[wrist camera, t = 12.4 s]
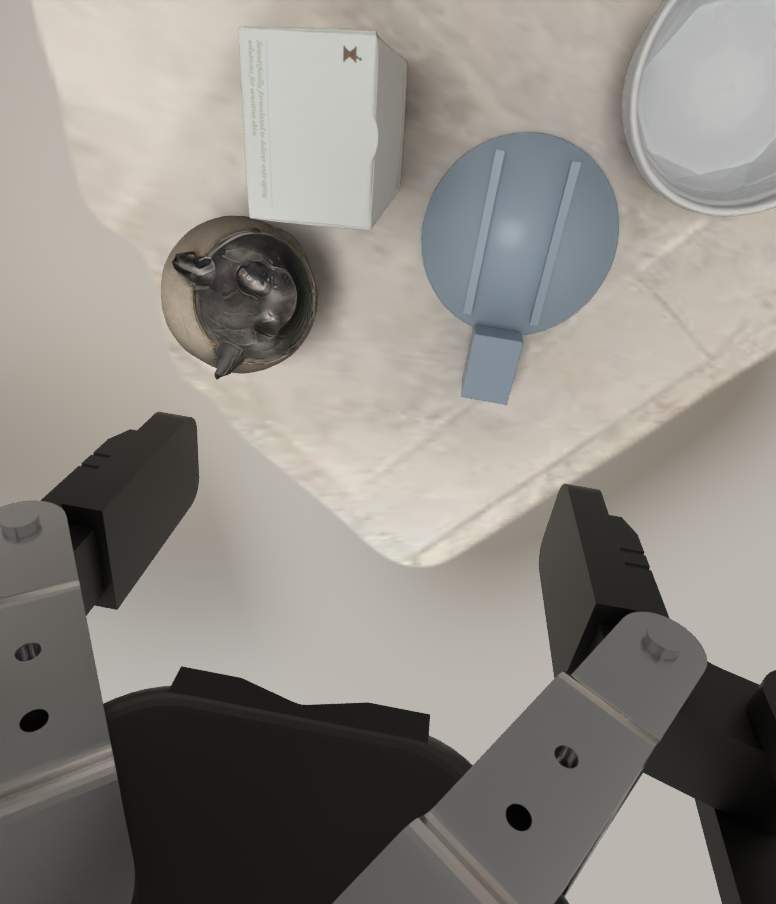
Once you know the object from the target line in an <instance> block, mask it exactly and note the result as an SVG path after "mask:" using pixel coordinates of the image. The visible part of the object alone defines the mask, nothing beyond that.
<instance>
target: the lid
mask: <svg viewBox="0 0 776 904" xmlns="http://www.w3.org/2000/svg"><path fill="white" fill-rule="evenodd" d="M618 234H619V216H618V209H617V203H616V200H615V197H614V193H613V190H612V188H611V186H610V184H609V182H608V179H607V178H606V176H605V175H604V173H603V171H602V170H601V168H600V167H599V166H598V165H597V164H596V163H595V161H594V160H593V159H592V158H591V157H590V156H589V155H587V154H586V153H585V152H584V151H583V150H581V149H580V148H578V147H577V146H575V145H573V144H572V143H570V142H568V141H565V140H563V139H560V138H558V137H555V136H550V135H546V134H540V133H514V134H509V135H505V136H500V137H498V138H495V139H492V140H489V141H487V142H485V143H483V144H481V145H479V146H477V147H475V148H474V149H473V150H471V151H470V152H468V153H467V154H465V155H464V156H463V157H462V158H461V159H460V160H458V161H457V162H456V163H455V164H454V165H453V166H452V167H451V169H450V170H449V171H448V172H447V173H446V174H445V176H444V177H443V179H442V180H441V182H440V183H439V185H438V186H437V188H436V190H435V192H434V194H433V196H432V198H431V200H430V202H429V205H428V208H427V211H426V214H425V218H424V223H423V229H422V256H423V262H424V267H425V270H426V274H427V277H428V279H429V282H430V284H431V286H432V288H433V290H434V292H435V293H436V295H437V296H438V298H439V299H440V301H441V302H442V303H443V304H444V306H445V307H446V308H447V309H448V310H449V311H450V312H451V313H452V314H454V315H455V316H456V317H457V318H459V319H460V320H462V321H463V322H464V323H466V324H468V325H470V326H472V327H473V331H472V336H471V341H470V346H469V350H468V355H467V360H466V364H465V369H464V374H463V379H462V395H461V397H464V398H470V399H476V400H481V401H487V402H493V403H498V404H504V405H507V403H508V399H509V395H510V391H511V387H512V383H513V379H514V375H515V372H516V368H517V364H518V360H519V356H520V352H521V348H522V344H523V340H522V336H521V335H526V334H533V333H536V332H540V331H544V330H546V329H549V328H551V327H554V326H556V325H558V324H559V323H561V322H563V321H565V320H567V319H568V318H569V317H571V316H572V315H574V314H575V313H577V312H578V311H579V310H580V309H581V308H582V307H583V306H584V305H585V304H587V302H588V301H589V300H590V299H591V298H592V297H593V296H594V294H595V293H596V292H597V290H598V289H599V287H600V286H601V285H602V283H603V281H604V279H605V278H606V276H607V274H608V272H609V270H610V267H611V264H612V262H613V259H614V256H615V252H616V248H617V243H618Z"/></svg>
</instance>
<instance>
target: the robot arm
mask: <svg viewBox="0 0 776 904" xmlns="http://www.w3.org/2000/svg"><path fill="white" fill-rule="evenodd" d="M197 444H198V443H197V426H196V422H195V420H194V419H193V418H192V417H186V416H181V415H175V414H168V413H163V412H157V413H155V414H154V415H153V416H152V417H151V418H150V419H149V420H148V421H147V422H146V423H145V424H144V425H143V426H142V427H141V428H139V429H138V430H131V429H130V430H128V431H126V432H123V433H121V434H119V435H117V436H114V437H112V438H110V439H108V440H107V441H106V442H105V443H104V444H102V445H101V446H100V447H99V448H98V449H97V450H96V451H95V452H94V454H93V455H90V456H89V457H88V458H87V459H86V460H85V461H84V462H83V463H82V465H81V466H78V467H77V468H76V469H75V470H74V471H73V472H72V473H70V474H69V475H68V476H67V477H66V478H65V479H64V480H63V481H62V482H60V483H59V484H58V485H57V486H56V487H55V488H54V489H53V490H52V491H51V492H49V494H47V495H46V496H45V497H44V498H43V499H42V500H41V501H23V502H17V503H12V504H9V505H5V506H2V507H0V904H569V903H568V901H567V900H566V898H565V896H566V894H567V893H568V891H569V889H570V888H571V886H572V885H573V883H574V881H575V880H576V878H577V877H578V875H579V873H580V872H581V870H582V869H583V867H584V865H585V864H586V862H587V860H588V859H589V857H590V856H591V854H592V852H593V851H594V849H595V848H596V846H597V844H598V843H599V841H600V840H601V838H602V837H603V835H604V833H605V832H606V830H607V829H608V827H609V826H610V824H611V822H612V821H613V819H614V818H615V816H616V815H617V813H618V811H619V810H620V808H621V806H622V805H623V804H624V802H625V800H626V799H627V797H628V796H629V794H630V792H631V791H632V789H633V788H634V786H635V785H636V783H637V782H638V780H639V778H640V777H641V775H642V774H643V773H645V774H647V775H649V776H651V777H653V778H655V779H657V780H659V781H661V782H663V783H665V784H667V785H669V786H671V787H673V788H675V789H677V790H679V791H681V792H683V793H685V794H687V795H689V796H691V797H693V798H695V801H696V805H697V809H698V813H699V817H700V820H701V825H702V828H703V832H704V836H705V839H706V844H707V847H708V851H709V855H710V859H711V863H712V867H713V870H714V874H715V878H716V882H717V886H718V890H719V894H720V897H721V901H722V904H776V670H775V671H772V672H770V673H769V674H768V675H766V677H765V678H764V680H763V681H762V683H761V684H760V685H759V684H756V683H754V682H752V681H749V680H747V679H745V678H742V677H740V676H737V675H735V674H733V673H730V672H728V671H726V670H723V669H721V668H719V667H717V666H715V665H713V664H711V663H709V662H708V661H707V657H706V654H705V651H704V649H703V647H702V645H701V644H700V642H699V641H698V640H697V639H696V638H695V636H693V635H692V633H690V632H689V631H688V630H687V629H686V628H684V627H683V626H681V625H680V624H678V623H677V622H675V621H673V620H671V619H670V618H669V616H668V613H667V611H666V608H665V605H664V603H663V600H662V597H661V595H660V592H659V590H658V587H657V584H656V582H655V579H654V577H653V574H652V571H651V570H649V567H650V566H649V564H648V561H647V558H646V556H644V551H643V548H642V545H641V543H640V540H639V538H638V535H637V534H636V532H635V531H634V530H633V529H632V528H631V527H630V526H629V525H628V524H627V523H626V522H625V521H624V520H623V518H622V517H617V516H611V515H609V514H608V511H607V508H606V505H605V502H604V499H603V496H602V493H601V491H600V490H598V489H592V488H586V487H581V486H574V485H569V484H563V485H562V486H561V488H560V490H559V492H558V495H557V498H556V501H555V504H554V507H553V510H552V513H551V516H550V519H549V522H548V525H547V528H546V531H545V534H544V537H543V540H542V544H541V548H540V555H539V572H540V579H541V586H542V593H543V600H544V607H545V615H546V622H547V629H548V635H549V643H550V650H551V657H552V663H553V671H554V678H555V679H554V680H553V681H552V682H551V683H550V684H549V685H548V686H547V687H546V688H545V689H544V690H543V691H542V693H541V694H540V695H539V696H538V697H537V698H536V699H535V700H534V701H533V702H532V703H531V704H530V705H529V706H528V707H527V709H526V710H525V711H524V712H523V713H522V714H521V715H520V716H519V717H518V718H517V719H516V720H515V721H514V722H513V723H512V724H511V726H510V727H509V728H508V729H507V730H506V731H505V732H504V733H503V734H502V735H501V737H499V738H498V739H497V740H496V742H495V743H494V744H493V745H492V746H491V747H490V748H489V749H488V750H487V751H486V752H485V753H484V754H483V755H482V756H481V757H480V759H479V760H478V761H477V762H476V763H475V764H474V765H472V764H470V762H469V761H467V760H466V759H465V758H464V757H463V756H461V755H460V754H459V753H458V752H456V751H455V750H454V749H452V748H451V747H449V746H448V745H446V744H444V743H443V742H441V741H439V740H437V739H435V738H433V737H431V736H429V721H430V715H429V714H424V713H419V712H414V711H409V710H404V709H398V708H393V707H388V706H382V705H378V704H373V703H346V704H321V705H301V704H297V703H294V702H292V701H290V700H288V699H286V698H283V697H281V696H279V695H277V694H275V693H273V692H270V691H268V690H266V689H264V688H262V687H260V686H257V685H255V684H253V683H251V682H249V681H247V680H245V679H242V678H239V677H233V676H228V675H222V674H218V673H213V672H208V671H202V670H197V669H192V668H187V667H181V668H180V670H179V672H178V674H177V676H176V678H175V679H174V681H173V683H172V685H171V686H163V687H156V688H149V689H144V690H140V691H137V692H132V693H129V694H127V695H124V696H121V697H118V698H115V699H113V700H111V701H109V702H106V703H104V704H103V701H102V696H101V691H100V686H99V681H98V675H97V670H96V665H95V660H94V655H93V650H92V645H91V640H90V634H89V629H88V624H87V619H86V615H87V614H88V613H89V611H90V610H91V609H92V608H93V606H94V605H96V606H101V607H106V608H111V609H116V610H117V609H118V608H119V607H120V605H121V604H122V602H123V601H124V599H125V598H126V597H127V595H128V594H129V592H130V591H131V590H132V588H133V587H134V585H135V584H136V583H137V581H138V580H139V578H140V577H141V576H142V574H143V573H144V571H145V570H146V568H147V567H148V566H149V564H150V563H151V561H152V560H153V559H154V557H155V556H156V554H157V553H158V551H159V550H160V549H161V547H162V546H163V544H164V543H165V542H166V540H167V539H168V538H169V536H170V535H171V533H172V532H173V531H174V529H175V528H176V526H177V525H178V523H179V522H180V521H181V519H182V518H183V516H184V515H185V514H186V512H187V511H188V509H189V508H190V507H191V505H192V503H193V501H194V499H195V497H196V494H197V490H198V483H199V466H198V445H197Z"/></svg>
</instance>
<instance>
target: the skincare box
mask: <svg viewBox="0 0 776 904" xmlns="http://www.w3.org/2000/svg"><path fill="white" fill-rule="evenodd" d="M238 33H239V48H240V68H241V87H242V106H243V125H244V144H245V161H246V177H247V193H248V206H249V217H250V218H252V219H259V220H267V221H276V222H285V223H294V224H305V225H315V226H326V227H337V228H348V229H360V230H370V229H371V228H372V227H373V225H374V224H375V223H376V221H377V220H378V219H379V217H380V216H381V214H382V213H383V212H384V210H385V209H386V208H387V206H388V205H389V204H390V202H391V201H392V200H393V198H394V197H395V196H396V194H397V193H398V192H399V189H400V181H401V169H402V154H403V140H404V125H405V107H406V88H407V61H406V60H405V59H404V58H403V57H402V56H400V55H399V54H398V53H397V52H395V51H394V50H393V49H392V48H391V47H390V46H388V45H387V44H386V43H385V42H384V41H382V40H381V39H380V38H379V36H378V35H377V32H376V31H373V30H350V29H318V28H284V27H239V28H238Z"/></svg>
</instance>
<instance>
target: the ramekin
mask: <svg viewBox="0 0 776 904" xmlns="http://www.w3.org/2000/svg"><path fill="white" fill-rule="evenodd" d="M622 97H623V100H622V104H621V110H622V123H623V126H624V132H623V133H624V136H625V137H626V139H627V145H628V147H629V149H630V152H631V155H632V158H633V160H634V162H635V164H636V166H637V169H638V170H639V172H640V174H641V175H642V177H643V178H644V179H645V181H646V182H647V183H648V184H649V185H650V187H651V188H652V189H653V190H654V191H655V192H657V193H658V194H659V195H660V196H662V197H663V198H665V199H666V200H668V201H669V202H671V203H673V204H675V205H677V206H679V207H681V208H684V209H687V210H690V211H693V212H697V213H701V214H705V215H712V216H741V215H748V214H753V213H757V212H761V211H764V210H768V209H771V208H774V207H776V0H664V1H663V3H662V4H661V6H660V7H659V9H658V10H657V12H656V13H655V15H654V16H653V18H652V19H651V21H650V23H649V25H648V26H647V28H646V30H645V32H644V34H643V36H642V38H641V40H640V43H639V45H638V46H637V48H636V49H635V51H634V54H633V58H632V60H631V61H630V63H629V65H628V72H627V74H626V77H625V86H624V88H623V91H622Z"/></svg>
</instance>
